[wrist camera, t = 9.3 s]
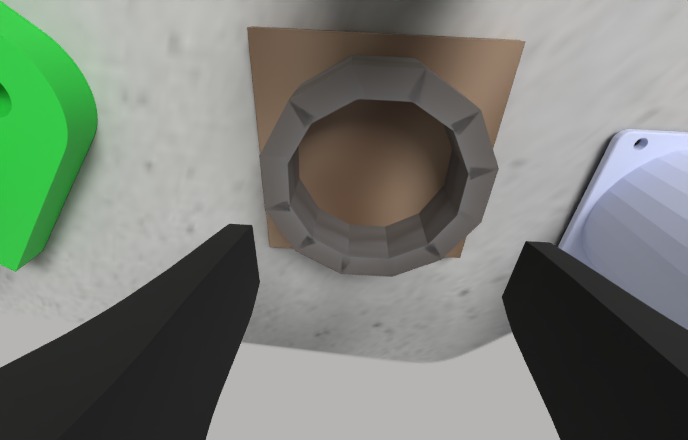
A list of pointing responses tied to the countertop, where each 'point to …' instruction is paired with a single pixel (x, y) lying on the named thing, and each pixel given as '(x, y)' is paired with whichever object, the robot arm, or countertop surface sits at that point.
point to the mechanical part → (37, 135)
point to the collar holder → (377, 142)
